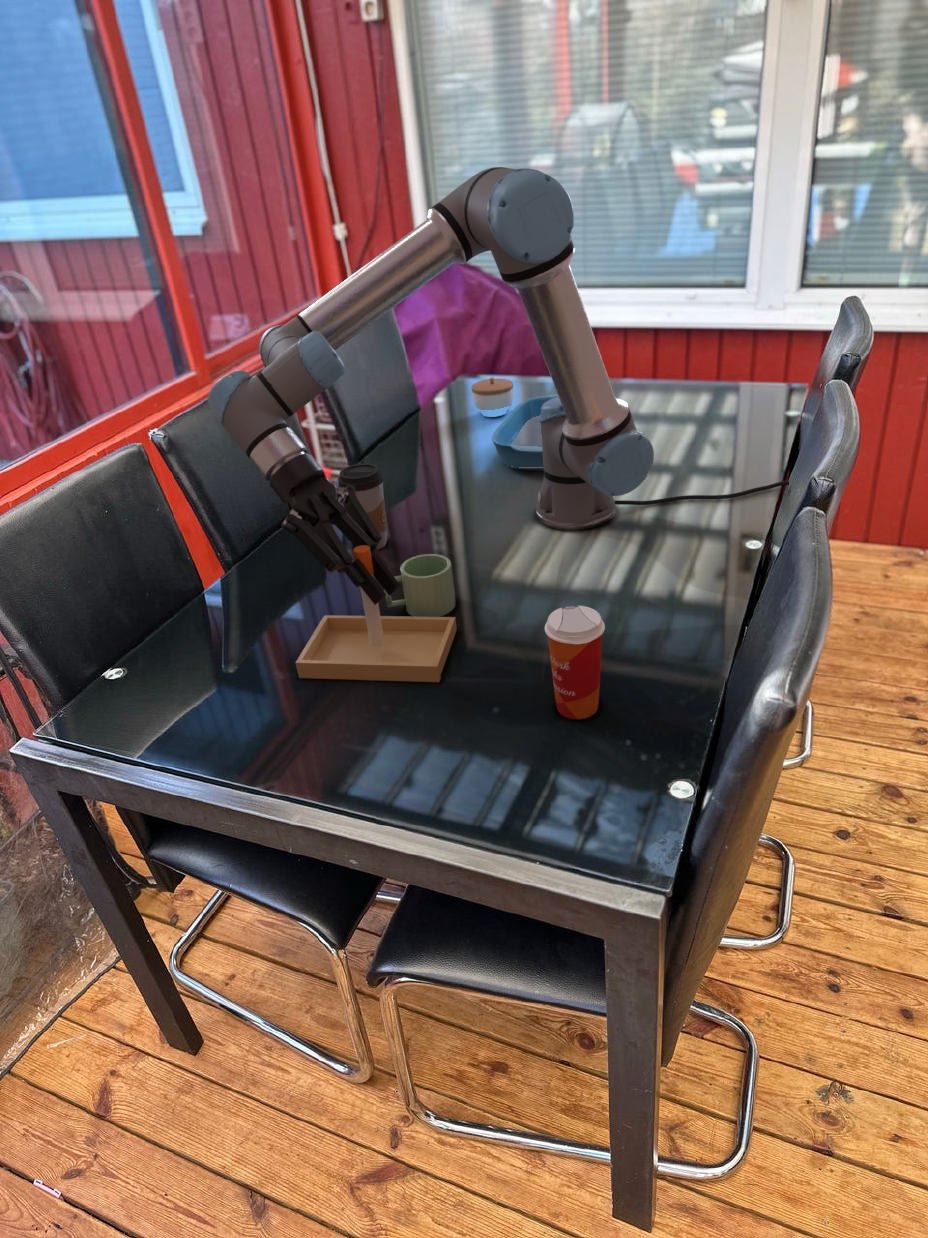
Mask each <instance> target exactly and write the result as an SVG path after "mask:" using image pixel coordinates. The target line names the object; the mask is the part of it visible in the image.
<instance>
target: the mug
mask: <svg viewBox="0 0 928 1238" xmlns="http://www.w3.org/2000/svg"><path fill="white" fill-rule="evenodd" d="M399 570H400V575H395V576H394V575H393V576H394V577H395V579H396V580H397V581H398V582H399V583H401V586H402V591H403V592H402V593H403V598H402V599H395V600H393V598H392V594H391V595H390V596H389V595H388V593H387V592H386V591H385V590H384V589H383V591H384V592H385V594H386V595H385V596H384V600H385V605H386V607H387V608H389V609H390V608H396V607H402V606H405V611H406V612H407V614H408V615H409V616H411V617H444V616H445V615H447V614H449V613H450V612H451V611H453V610H454V608H455V607H456V603H457V601H456V593H455V583H454V576H453V575H454V574H453V568H452V561H451V560H450V559H449V558H448V557H447V556H445V555H443V554H436V553H426V554H419V555H415V556H412V557H410V558H408V559H406V560H405V561H404V562H403V563H401V564H400V567H399Z"/></svg>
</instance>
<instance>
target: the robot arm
mask: <svg viewBox="0 0 928 1238" xmlns="http://www.w3.org/2000/svg"><path fill="white" fill-rule="evenodd" d="M574 225H575V210H574V206H573V202H572V199H571V196H570V194H569V193H568V191H567V190H566V188H565V187H564V186H563V185H562V184H561V182H560V181H558V180H557V179H556V178H554V177H553V176H552V175H549V174H547V173H545V172H543V171H540V170H538V169H534V168H526V167H524V168H510V167H505V166H504V167H503V166H494V167H489V168H486V169H483V170H481V171H479V172H478V173H476V174H474V175H473V176H471V177H469V178H467V180H465V181H464V182H462V184H460V185H459V186H457V187H456V188H454V189H453V190H452V191H451V192H450V193H449V194H447V195H446V196H445V197H444V198H442V199H441V200H439V201H438V202H437V203H435V204H434V205H433V206H431V207H430V208H429V209H428V211H427V216H426V220H424V221H423V222H422V223H420V224H418V225H417V226H416V227H415V228H413V229H412V230H411V231H410V232H408V233H407V234H405V235H404V236H403V237H401V238H400V239H399V240H397V241H396V242H394V243H393V244H392V245H391V246H389V247H388V248H386V249H385V250H384V251H382V252H381V253H380V254H378V255H377V256H376V257H374V258H373V259H372V260H371V261H369V262H368V263H366V264H365V265H364V266H362V267H361V268H360V269H358V270H357V271H356V272H354V273H353V274H352V275H350V276H349V277H347V278H346V279H345V280H344V281H342V282H341V283H340V284H338V285H337V286H335V287H334V288H333V289H332V290H329V292H327V293H326V294H325V295H323V296H322V297H321V298H319V299H318V300H317V301H315V302H314V303H312V304H311V305H310V306H309V307H306V309H305V310H303V311H301V312H300V313H299V314H297V316H294V317H293V318H292V319H290V320H289V321H288V322H287V323H284V324H278V325H274V326H271V327H269V328H268V329H267V330H266V331H265V332H263V334H262V336H261V337H260V340H259V345H258V350H259V351H258V352H259V356H260V359H261V361H262V364H263V367H264V368H263V369H262V370H261V371H259V372H258V373H256V374H254V376H252V375H250V374H249V373H248V372H247V371H245V370H234V371H232V372H230V373H229V374H228V375H227V374H226V375H223V376H222V377H221V378H220V379H219V380H217V381H216V382H215V383H214V384H213V385H212V387H211V388H210V390H209V392H208V394H207V395H208V396H207V402H208V403H207V404H208V405H209V407H210V409H211V410H212V411H213V413H214V415H215V416H216V417H217V419H218V420H219V422H220V424H221V425H222V427H223V428H224V429H225V430H226V431H227V433H228V434H229V435H230V437H231V438H232V439H233V441H234V442H235V443H236V444H237V445H238V446H239V447H240V449H241V450H242V452H243V453H244V454H245V455H246V457H247V459H249V460H250V462H251V463H252V464H253V466H254V467H255V468H256V469H257V471H258V472H259V473H260V475H261V476H262V477H263V479H264V480H265V481H267V482H269V486H270V488H271V489H272V490H273V492H274V493H275V494H276V496H277V497H278V498H279V499H280V501H281V502H282V503H283V504H286V506H287V510H288V512H289V514H287V516H286V517H285V518H284V520H283V521H282V523H281V528H282V529H283V530H285V531H286V532H288V533H289V534H292V535H293V536H295V538H296V539H297V540H298V541H299V542H300V543H301V544H302V545H303V546H304V547H305V548H306V549H307V551H309V553H310V554H311V555H312V556H313V557H314V558H315V559H316V560H317V561H318V562H319V563H320V564H321V565H322V566H323V567H324V568H325V569H326V570H327V571H328V572H329V573H333V572H334V571H336V572H338V573H339V574H343V573H344V574H345V575H346V576H347V578H348V579H349V580H350V581H351V582H352V585H354V586H355V587H356V588H359V587H361V588H362V589H363V590H364V592H365V593H366V594H367V596H368V597H369V598H370V599H371V601H372V602H373V603H374V605H376V604H377V603H378V604H379V603H380V602H381V600H383V599H384V598H385V595H386V594H385V592H384V590H385V591H386V592H387V593H388V595H389V596H390V595H391V596H392V595H393V594H394V593H395V592H396V591H397V590H398V589H399V588H400V587H401V584H400V582H398V581H397V580H396V579H395V577H394V575H393V573H392V572H391V571H390V569H389V567H390V565H389V563H388V561H387V559H385V557H384V556H383V555H382V553H381V552H380V551H379V549H378V550H377V546H378V543H379V542H380V541H381V539H382V536H381V535H380V533H379V531H378V530H377V528H376V527H375V525H374V524H373V522H372V520H371V519H370V517H369V516H368V514H367V513H366V511H365V509H364V508H363V506H362V505H361V503H360V502H359V500H358V498H357V496H356V492H355V488H354V486H353V485H351V484H348V485H347V486H346V488H340V487H339V486H338V487H337V486H336V485H335V483H333V482H331V480H328V478H327V477H326V474H325V470H324V469H323V468H322V466H321V465H320V464H319V462H318V461H317V460H316V459H315V457H314V456H313V455H312V454H311V453H308V448H307V447H306V445H305V444H304V442H302V440H301V439H300V438H299V437H298V435H297V434H296V433H295V432H294V430H293V429H292V428H291V427H290V426H289V424H288V423H287V420H288V419H289V418H291V417H292V416H293V415H294V414H296V413H297V412H298V411H300V410H301V409H302V408H304V407H305V406H306V405H307V404H309V403H310V402H311V401H313V400H314V399H316V398H317V397H318V396H319V395H321V394H322V393H323V392H324V391H326V390H328V389H329V388H331V387H332V386H333V384H334V383H336V382H337V381H338V380H339V379H340V378H341V377H342V376H343V375H344V374H345V371H346V366H345V363H344V362H343V360H342V359H341V357H340V356H339V354H338V353H337V351H336V350H337V349H339V348H340V347H342V346H343V345H344V344H346V343H347V342H348V341H350V340H351V339H353V338H354V337H355V336H357V335H358V334H359V333H361V332H362V331H363V330H365V329H366V328H367V327H369V326H371V325H372V324H373V323H374V322H376V321H377V320H378V319H380V318H381V317H382V316H384V315H385V314H387V313H388V312H389V311H391V310H392V309H394V308H395V307H396V306H397V305H399V304H400V303H402V302H403V301H405V300H406V299H407V298H408V297H410V296H411V295H413V294H414V293H415V292H417V291H418V290H419V289H421V288H422V287H424V286H425V285H426V284H428V283H429V282H430V281H431V280H433V279H434V278H435V277H437V276H438V275H440V274H441V273H442V272H443V271H445V270H446V269H449V267H450V266H452V265H453V264H458V265H464V264H466V263H467V262H469V261H470V260H472V259H473V258H475V257H477V256H478V255H480V254H483V253H486V252H489V251H490V252H491V255H492V257H493V261H495V262H494V263H495V264H496V266H497V270H498V272H499V275H500V277H501V280H502V282H503V283H505V284H506V285H509V286H512V287H514V288H515V289H516V291H517V293H518V295H519V298H520V301H521V303H522V306H523V308H524V311H525V314H526V316H527V319H528V321H529V324H530V327H531V328H532V332H533V334H534V337H535V340H536V342H537V345H538V348H539V350H540V352H541V354H542V357H543V360H544V363H545V365H546V368H547V371H548V372H549V375H550V378H551V380H552V383H553V386H554V388H555V390H556V393H557V395H558V396H559V397H556V398H553V399H550V400H548V401H546V402H545V403H544V404H543V405H542V407H541V420H540V423H541V435H542V452H543V468H544V471H543V480H542V484H541V487H540V490H539V491H538V494H537V501H536V506H535V513H536V519H537V521H538V522H540V523H541V524H542V525H544V526H545V527H549V528H552V529H556V530H564V531H580V530H581V531H582V530H589V529H593V528H597V527H600V526H603V525H605V524H607V523H608V522H610V521H611V520H612V519H614V517H615V515H616V506H617V505H618V506H619V505H621V506H622V505H623V506H624V505H628V506H632V505H633V506H648V505H649V506H650V505H658V504H665V503H670V502H675V501H686V500H688V501H689V500H726V499H735V498H739V497H743V496H746V495H751V494H753V493H757V492H762V491H767V490H768V491H769V490H771V489H774V488H778V487H781V486H789V480H782V481H781V480H780V481H777V482H773V483H771V484H768V485H762V486H757V487H753V488H750V489H746V490H742V491H738V492H734V493H728V494H690V495H689V494H687V495H686V494H685V495H677V496H669V497H664V498H658V499H651V500H623V499H621V500H615V498H614V497H621V496H624V495H627V494H629V493H631V492H633V491H635V490H636V489H637V488H638V487H640V486H641V485H642V483H643V482H644V481H645V480H646V479H647V477H648V474H649V472H650V471H651V470H652V467H653V465H654V458H655V451H654V446H653V444H652V442H651V441H650V439H649V438H648V437H647V436H646V435H645V433H643V432H640V431H639V430H638V429H637V427H636V424H635V421H634V418H633V415H632V413H631V409H630V407H629V405H628V402H626V401H625V400H623V399H620V398H618V397H616V395H615V392H614V389H613V386H612V383H611V382H610V377H609V375H608V372H607V370H606V367H605V364H604V360H603V358H602V355H601V352H600V349H599V346H598V344H597V340H596V337H595V334H594V332H593V329H592V326H591V323H590V320H589V318H588V315H587V312H586V309H585V306H584V303H583V301H582V297H581V294H580V292H579V288H578V286H577V283H576V280H575V277H574V274H573V272H572V268H571V265H570V263H571V260H572V259H573V256H574V254H575V251H576V248H575V244H574V242H573V239H572V230H573V229H574ZM346 511H347V513H348V514H347V513H346ZM306 522H307V523H306ZM332 525H334V526H335V527H336V528H337V529H338V530H339V531H340V532H341V534H343V535H344V536H345V538H346V539H347V540H348V541H349V542H350V543H351V544H352V545H353V546H354V548H355V547H357V546H360V545H367V546H369V547H370V551H371V558H372V564H373V570H374V573H373V574H374V578H373V577H372V576H371V574H370V573H369V572H368V570H367V569H366V568H365V566H364V565H363V564H362V563H361V561H360V560H359V559H357V560H355V559H354V561H353V557H352V556H351V554H350V553H349V551H348V549H347V548H346V546H345V544H344V543H343V541H342V539H341V538H340V536H339V535H338V533H337V532H336V530H335V528H334V527H333V526H332ZM361 588H360V589H361Z"/></svg>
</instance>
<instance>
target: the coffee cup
mask: <svg viewBox="0 0 928 1238" xmlns="http://www.w3.org/2000/svg"><path fill="white" fill-rule="evenodd" d="M382 473H383V472H382V471H381V470H380V467H379V466H378V465H376V464H373V463H356V464H351V465H349V466H345V467H344V468H342V469H341V470H340V471H339V473H338V475H339V477H338V478H337V481H338V482H337V483H338V484H337V485H338V487H340V488H346V486H347V485H348V484H351V485H353V486H354V488H355V492H356V496H357V498H358V500H359V502H360V503H361V505H362V506H363V508H364V509H365V511H366V513H367V514H368V516H369V517H370V519H371V520H372V522H373V524H374V525H375V527H376V528H377V530H378V531H379V533H380V535H381V536H382V539H381V541H380V542H379V543H378V546H377V550H378V551H379V550H380V549H382V548H384V547H385V546H386V545H387V542H388V533H387V528H388V527H387V514H386V502H385V495H384V483H383V482H384V478H383V474H382ZM346 513H347V511H346ZM347 514H348V513H347Z"/></svg>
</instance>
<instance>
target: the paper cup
mask: <svg viewBox="0 0 928 1238" xmlns="http://www.w3.org/2000/svg"><path fill="white" fill-rule="evenodd" d="M605 630H606V625H605V622H604V620H603V619H602V616H601V614H600V613H599V612H598V611H597V610H596V609H595V608H592V607H589V606H586V605H577V606H574V605H573V606H565V608H562V607H559V608H557V609H555V610H553V611H552V612H551V613H550V614H549V615H548V617H547V621H546V623H545V625H544V632H545V634H546V636H547V640H548V641H547V643H548V650H549V657H550V666H551V674H552V675H551V676H552V682H553V690H554V691H553V692H554V699H555V704H556V709H557V711H558V713H559V714H560V715H562V716H563V717H565V718H566V719H571V720H582V719H588V718H591V717H592V716H593V715H595V714H596V713H597V711H598V709H599V700H600V686H601V685H600V684H601V668H602V665H601V664H602V646H603V645H602V643H603V634H604V632H605Z"/></svg>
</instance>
